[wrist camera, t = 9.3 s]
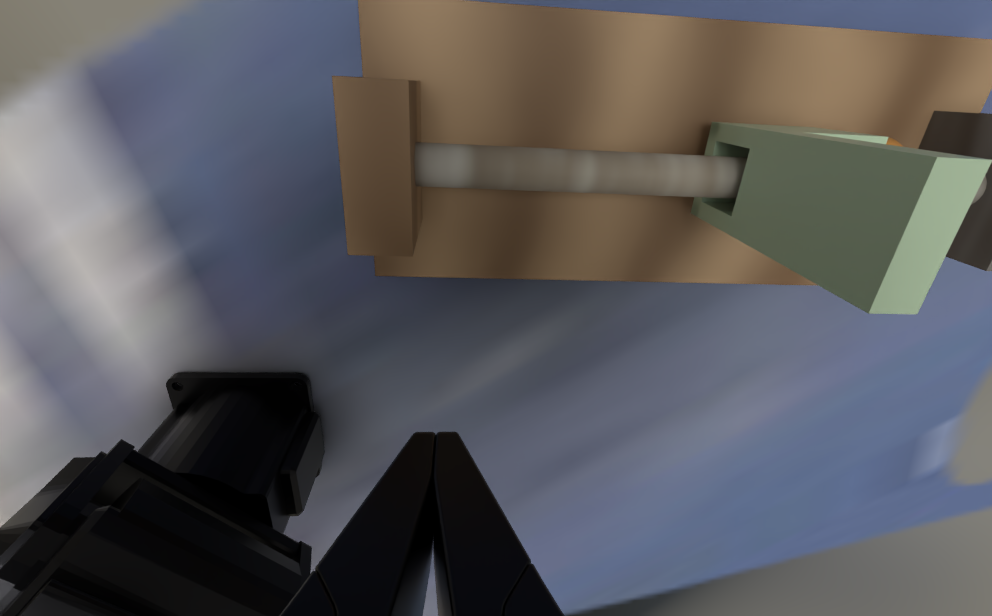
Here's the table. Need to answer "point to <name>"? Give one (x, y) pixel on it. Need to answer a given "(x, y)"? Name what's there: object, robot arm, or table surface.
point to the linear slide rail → (615, 134)
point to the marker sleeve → (845, 208)
